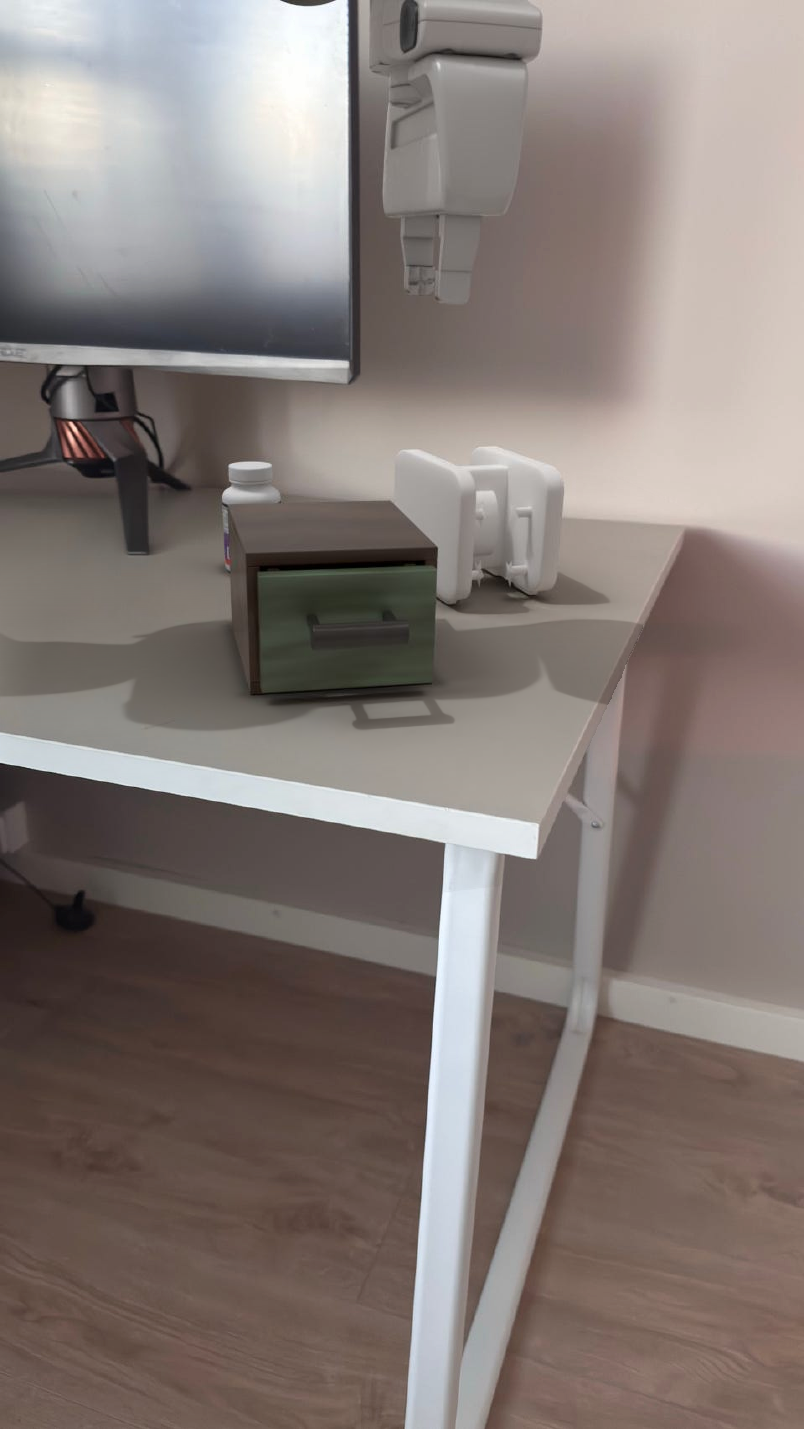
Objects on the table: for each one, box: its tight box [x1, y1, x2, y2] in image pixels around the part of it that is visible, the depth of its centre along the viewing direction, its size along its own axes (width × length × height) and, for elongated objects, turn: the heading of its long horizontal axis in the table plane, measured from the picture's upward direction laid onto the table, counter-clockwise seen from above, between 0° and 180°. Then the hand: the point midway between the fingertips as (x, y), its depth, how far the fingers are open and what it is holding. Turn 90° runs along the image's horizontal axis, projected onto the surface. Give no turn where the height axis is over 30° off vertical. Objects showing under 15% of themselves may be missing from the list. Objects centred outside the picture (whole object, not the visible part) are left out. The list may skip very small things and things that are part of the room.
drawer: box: [257, 561, 437, 694], centre depth 74 cm, size 18×12×8 cm, turn 13°
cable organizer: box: [393, 445, 565, 605], centre depth 96 cm, size 15×11×12 cm
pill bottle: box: [221, 461, 282, 572], centre depth 100 cm, size 5×5×10 cm
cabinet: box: [227, 499, 438, 695], centre depth 79 cm, size 15×13×10 cm
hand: (434, 299), depth 67 cm, fingers open, 8 cm apart
